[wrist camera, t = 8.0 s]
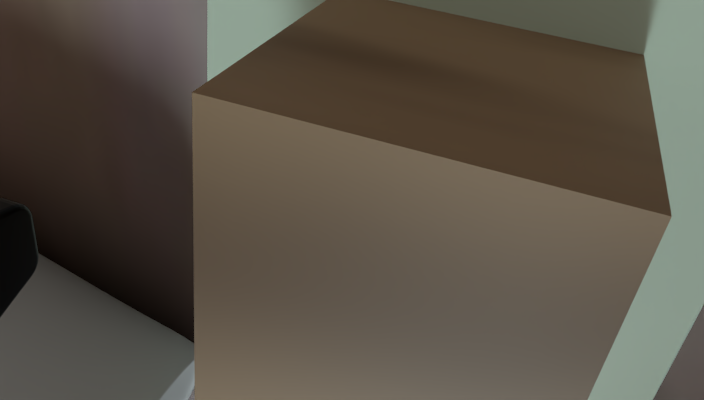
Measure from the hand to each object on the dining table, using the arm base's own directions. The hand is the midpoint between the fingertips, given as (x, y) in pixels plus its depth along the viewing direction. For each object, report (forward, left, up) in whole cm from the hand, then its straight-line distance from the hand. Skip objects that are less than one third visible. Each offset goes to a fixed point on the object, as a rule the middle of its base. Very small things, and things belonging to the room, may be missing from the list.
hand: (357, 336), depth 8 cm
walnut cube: (0, 0, -5) cm, 5 cm away
